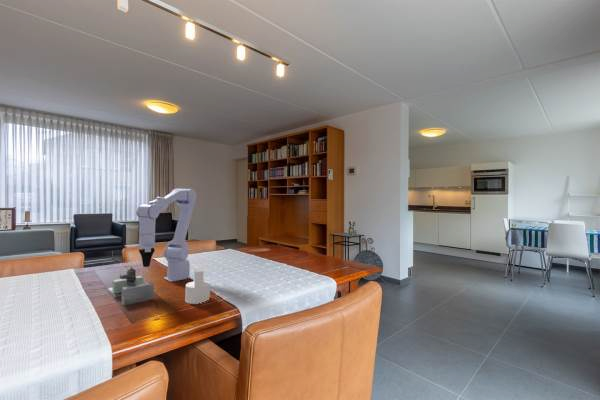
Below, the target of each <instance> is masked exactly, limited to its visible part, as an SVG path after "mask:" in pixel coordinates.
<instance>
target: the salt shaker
mask: <svg viewBox="0 0 600 400" xmlns="http://www.w3.org/2000/svg"><path fill="white" fill-rule="evenodd" d="M136 272H137V271H136V269H134V268H133V267H132V266H131V267H130V268H129V269H127V270H126V273H127V278H126V280H127V283H126V287H128V286H133V285H136V283H135V282H136V277H135V276H137V275H136Z"/></svg>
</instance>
